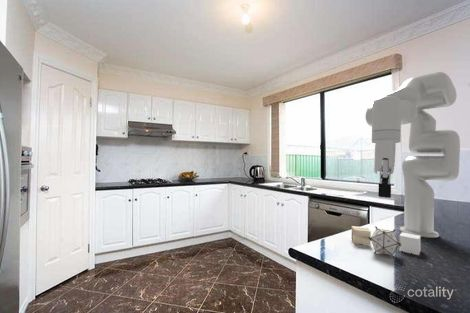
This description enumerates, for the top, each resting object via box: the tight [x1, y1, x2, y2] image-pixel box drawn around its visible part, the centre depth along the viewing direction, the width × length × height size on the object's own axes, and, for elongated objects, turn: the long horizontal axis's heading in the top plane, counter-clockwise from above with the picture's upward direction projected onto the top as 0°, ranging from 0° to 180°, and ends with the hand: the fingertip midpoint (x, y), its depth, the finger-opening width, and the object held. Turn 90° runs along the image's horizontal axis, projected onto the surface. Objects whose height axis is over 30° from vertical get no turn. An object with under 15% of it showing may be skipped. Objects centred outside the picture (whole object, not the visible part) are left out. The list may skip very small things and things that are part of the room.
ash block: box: [351, 225, 372, 246], centre depth 82 cm, size 5×5×5 cm
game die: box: [368, 226, 401, 259], centre depth 71 cm, size 9×8×10 cm
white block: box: [398, 231, 422, 256], centre depth 75 cm, size 5×5×5 cm
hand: (384, 197), depth 71 cm, fingers closed
